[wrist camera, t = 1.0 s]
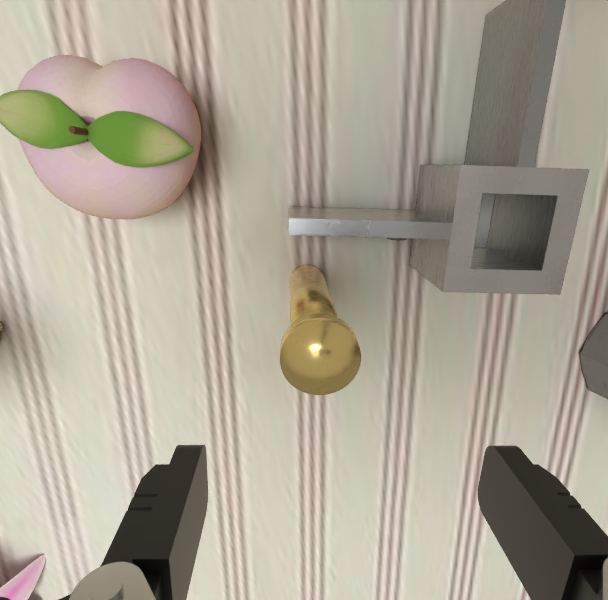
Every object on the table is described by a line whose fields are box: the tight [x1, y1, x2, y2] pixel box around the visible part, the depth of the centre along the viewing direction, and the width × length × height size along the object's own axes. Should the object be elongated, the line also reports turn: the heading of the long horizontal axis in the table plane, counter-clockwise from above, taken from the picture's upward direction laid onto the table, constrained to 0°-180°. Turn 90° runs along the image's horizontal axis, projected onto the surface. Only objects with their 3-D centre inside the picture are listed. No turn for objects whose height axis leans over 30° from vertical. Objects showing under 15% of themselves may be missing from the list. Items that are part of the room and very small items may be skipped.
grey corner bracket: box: [288, 0, 589, 294], centre depth 25 cm, size 16×16×7 cm
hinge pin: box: [280, 265, 361, 395], centre depth 25 cm, size 4×4×13 cm
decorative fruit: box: [0, 55, 201, 219], centre depth 23 cm, size 9×8×10 cm
